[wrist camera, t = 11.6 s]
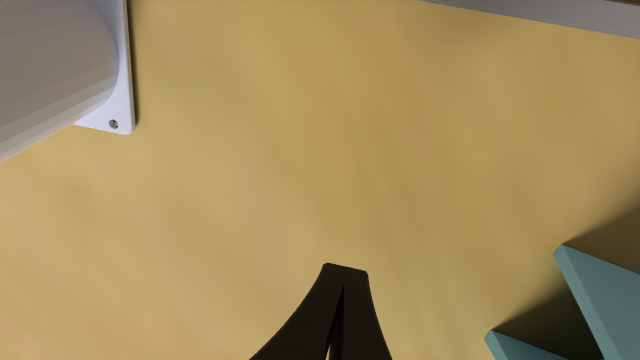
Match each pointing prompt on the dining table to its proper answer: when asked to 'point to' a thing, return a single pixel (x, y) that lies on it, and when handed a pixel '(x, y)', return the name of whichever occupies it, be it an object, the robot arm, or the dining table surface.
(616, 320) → the light blue tall block
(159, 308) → the dining table surface
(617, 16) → the grey piece
